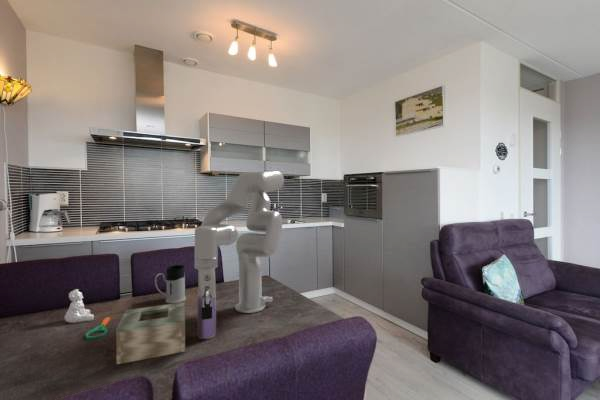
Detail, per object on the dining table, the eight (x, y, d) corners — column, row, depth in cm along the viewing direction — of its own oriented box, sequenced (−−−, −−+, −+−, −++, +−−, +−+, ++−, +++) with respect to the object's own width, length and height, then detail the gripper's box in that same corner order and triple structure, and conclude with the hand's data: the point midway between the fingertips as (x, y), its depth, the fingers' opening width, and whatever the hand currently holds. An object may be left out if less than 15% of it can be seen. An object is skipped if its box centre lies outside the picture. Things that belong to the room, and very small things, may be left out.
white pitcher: (190, 298, 135) (189, 266, 135) (161, 308, 123) (160, 273, 123) (178, 295, 139) (178, 264, 139) (149, 304, 127) (149, 270, 127)
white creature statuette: (95, 320, 112) (94, 289, 112) (66, 327, 105) (66, 294, 105) (89, 313, 118) (88, 284, 118) (62, 320, 112) (61, 289, 112)
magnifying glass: (103, 339, 98) (103, 334, 98) (82, 341, 96) (82, 336, 96) (116, 320, 112) (116, 316, 112) (98, 322, 110) (98, 318, 110)
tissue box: (184, 330, 103) (184, 302, 103) (185, 351, 89) (184, 319, 89) (126, 340, 96) (126, 309, 96) (116, 364, 82) (116, 329, 82)
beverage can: (210, 340, 95) (210, 295, 95) (194, 339, 96) (193, 294, 96) (219, 332, 101) (219, 289, 101) (203, 330, 102) (203, 288, 102)
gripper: (220, 267, 92) (220, 321, 92) (215, 257, 108) (214, 303, 108) (195, 269, 89) (194, 325, 89) (193, 258, 105) (193, 306, 105)
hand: (205, 313), depth 98 cm, fingers open, 9 cm apart
